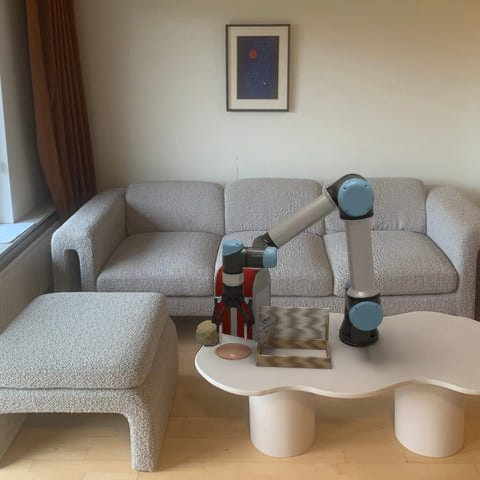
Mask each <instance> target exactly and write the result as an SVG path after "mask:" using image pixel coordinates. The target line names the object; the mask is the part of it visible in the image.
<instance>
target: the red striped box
mask: <svg viewBox="0 0 480 480" xmlns="http://www.w3.org/2000/svg"><path fill="white" fill-rule="evenodd" d="M243 270H244V271H243V272H244V281H243V284H244V296H245V297H247V298H249V297H252V308H253V313H254V318H255V324H254V325H250V333H249V334H247V340H250V341H256V340H257V337H253V336H254V335H253V332H254V330H256V329H257V328H259V306H271V307H272V305H271V304H272V303H271V297H272V296H271V295H272V292H271V291H272V289H271V288H272V284H271V283H272V279H271V278H272V277H271V272H270V268H268V269H266V268H243ZM222 271H223V266H222V265H221V266H220V267H218V268H217V270H216V272H215V275H214V281H213V299H214V298H215V296H217V297H222V295H223V274H222ZM213 306H215V303H213ZM224 306H225V304H224V302H223V301H222V300H221V301H220V303H219V304H218V309H217V314H216V320H218V318H219V316H220V314H221V312H222V310H223V308H224ZM242 306H243V308H244V310H245V312H246V314H247V316H248V319H249V321H250V320H251V319H250V314H249V310H248V304H247V303H246V301H243V303H242ZM220 323H222V335H226V336H231V337H234V338H235V337H236V338H241V339H244V326H245V324H246V323H245V321H244V319H243V317H242V315H241V313H240V311H239V310H238V308H229V307H228V308H227V310H226V312H225V314H224V316H223V318H222V320H221V322H220ZM252 337H253V338H252Z"/></svg>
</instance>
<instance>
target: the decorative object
mask: <svg viewBox="0 0 480 480" xmlns="http://www.w3.org/2000/svg"><path fill="white" fill-rule="evenodd" d="M211 321H212V319H211V320H210V319H209V320H204V321H202V322H200V323H199V324H198V325H197V328H196V331H195V341H196V342H197V344H199V345H202V346H215V345H216V344H218V343H220V335H219V333H217V331H216V324H212V323H211Z"/></svg>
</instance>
